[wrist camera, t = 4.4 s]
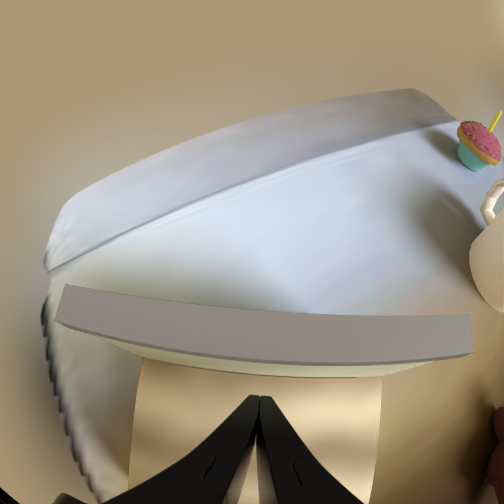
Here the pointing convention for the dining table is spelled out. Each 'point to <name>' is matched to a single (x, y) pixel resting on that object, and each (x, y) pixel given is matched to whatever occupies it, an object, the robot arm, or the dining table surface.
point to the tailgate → (264, 336)
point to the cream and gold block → (226, 401)
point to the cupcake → (478, 144)
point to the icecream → (497, 457)
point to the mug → (490, 252)
